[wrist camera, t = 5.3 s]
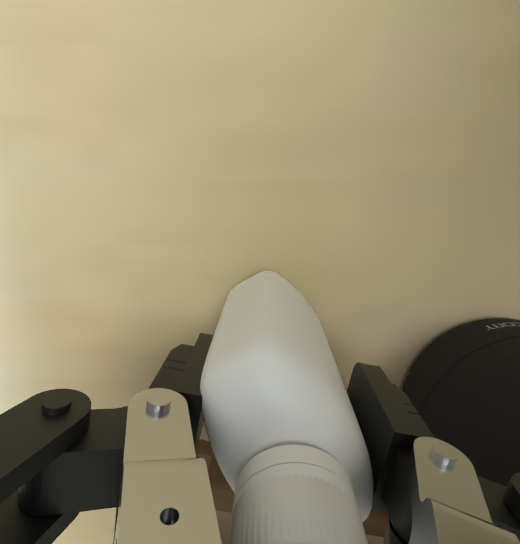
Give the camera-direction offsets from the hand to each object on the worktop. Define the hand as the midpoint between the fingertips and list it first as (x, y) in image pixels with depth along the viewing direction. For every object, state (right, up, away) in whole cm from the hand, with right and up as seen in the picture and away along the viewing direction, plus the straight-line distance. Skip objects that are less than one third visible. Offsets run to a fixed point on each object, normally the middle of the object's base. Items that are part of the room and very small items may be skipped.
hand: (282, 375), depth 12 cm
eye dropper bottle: (0, +1, +4) cm, 4 cm away
